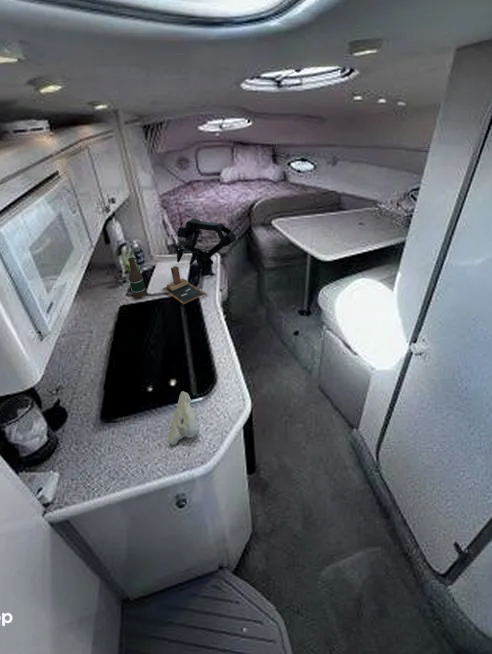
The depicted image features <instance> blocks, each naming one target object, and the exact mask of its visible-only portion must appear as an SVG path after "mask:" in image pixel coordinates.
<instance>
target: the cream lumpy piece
mask: <svg viewBox="0 0 492 654" xmlns="http://www.w3.org/2000/svg"><path fill="white" fill-rule="evenodd" d="M191 403H192V399H191V397H190V394H189V393H188V392H185V391H184V390H183V391H181V392H180V394H179V397H178V402H177V405H176V408H175V412H174V413H173V418H172V420H171V424H170V432H169V436H168V442H169V445H171V446H174V445H176V444H177V443H178V442H179V441H180V440H181V439H183V438H185V437H186V438H189V439H191V438H193V437H194V436H196V435H197V434H198V433H199V429H200V427H199V422H198V416H197V415H198V414H197V413H196V412H195V411H196V410H195V408H194V407H192V406H191Z"/></svg>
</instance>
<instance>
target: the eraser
mask: <svg viewBox="0 0 492 654" xmlns="http://www.w3.org/2000/svg"><path fill="white" fill-rule="evenodd" d="M179 268H180V267H179V266H177V265H173V266H172V267H170V271H171V277H172V282H170V283H168V284H167V283H166V287H167V289H168V290H170V291H171V292H175V291H177V290H179V289H182V288H184V287H186V286H189V285H188V282H189V281H188V280H187V279H185V278H181V274H180V269H179ZM171 292H170V293H171Z"/></svg>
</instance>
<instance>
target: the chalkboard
mask: <svg viewBox="0 0 492 654" xmlns="http://www.w3.org/2000/svg"><path fill="white" fill-rule="evenodd" d="M188 285H189V286H186V287H184V288H182V289H179V290H177V291H175V292H171V291H170V290H168V289H167V286H165V287H162V288H161V289H162V290H163V291H165V292H166V293H167V294H169V295H170V296H172V297H173V298H174V299H176V300H177V301H178V302H179V303H181V304H182V305H185V304H187V303H189V302H192V301H194V300H196V299H198V298H200V297H203V296H205V295H207V293H205V292H204V291H203V290H201V289H200V288H198V287H197V286H195V285H194V284H191V283H190V282H189V281H188ZM188 289H190V290H188ZM186 290H188V291H186ZM186 293H187V295H184V296H181V295H183V294H186Z"/></svg>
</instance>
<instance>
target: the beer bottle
mask: <svg viewBox="0 0 492 654" xmlns="http://www.w3.org/2000/svg"><path fill="white" fill-rule="evenodd" d="M127 262H128V265H129V270H130V271H129V273H128V280H129V286H130V288H131V293H132V296H133V298H134V299H136V300H141V299H143V297H145V295H147V290H146V285H145V282H144V277H143V273H142V272H141V271H140V270H139V269H138V267H137V264H136V259H135V257H129V258H127Z"/></svg>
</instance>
